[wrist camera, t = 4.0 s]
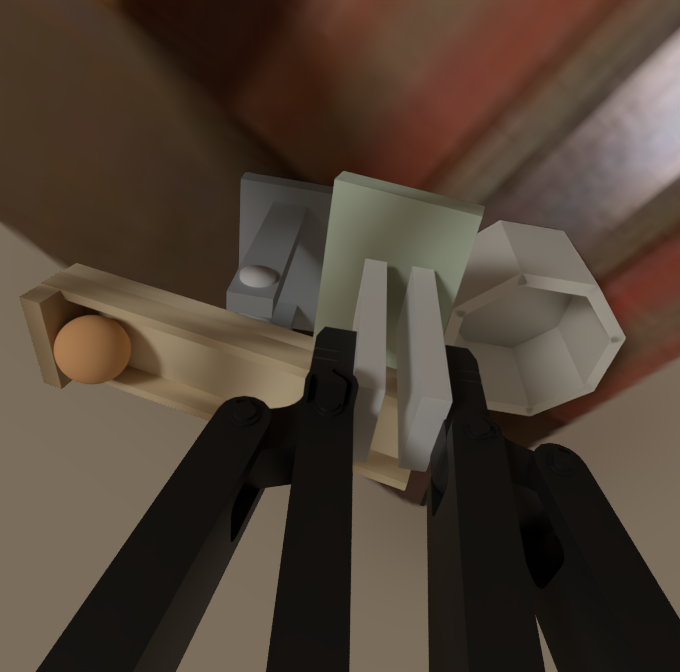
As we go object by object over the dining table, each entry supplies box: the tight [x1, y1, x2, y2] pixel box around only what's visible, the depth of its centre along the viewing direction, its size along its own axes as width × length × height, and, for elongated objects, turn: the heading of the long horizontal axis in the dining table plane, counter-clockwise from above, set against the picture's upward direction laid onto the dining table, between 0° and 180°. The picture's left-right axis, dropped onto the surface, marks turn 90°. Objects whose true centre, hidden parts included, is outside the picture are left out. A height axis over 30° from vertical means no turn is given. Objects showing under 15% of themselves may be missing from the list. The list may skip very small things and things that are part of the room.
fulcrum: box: [227, 172, 334, 332], centre depth 28 cm, size 6×10×12 cm, turn 172°
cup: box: [443, 220, 626, 416], centre depth 30 cm, size 9×9×6 cm
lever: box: [20, 171, 485, 491], centre depth 21 cm, size 18×13×3 cm
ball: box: [54, 315, 131, 384], centre depth 23 cm, size 3×3×3 cm
